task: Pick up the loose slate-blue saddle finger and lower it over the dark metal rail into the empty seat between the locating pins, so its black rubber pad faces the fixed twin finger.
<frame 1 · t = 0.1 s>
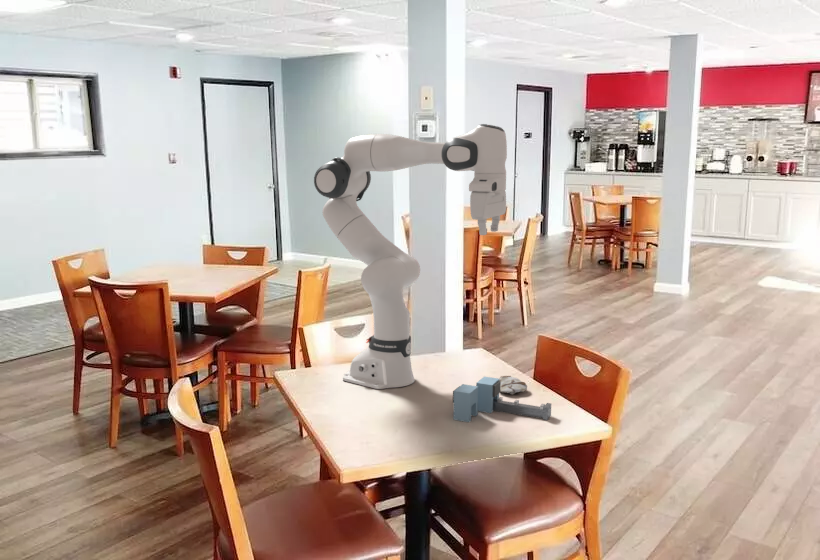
hand: (488, 233, 212), 48 cm above the table, fingers open, 8 cm apart
rail: (507, 411, 207), on the table
fixed finger: (487, 408, 210), resting in rail
finger: (465, 417, 203), on the table
stone: (510, 391, 225), on the table
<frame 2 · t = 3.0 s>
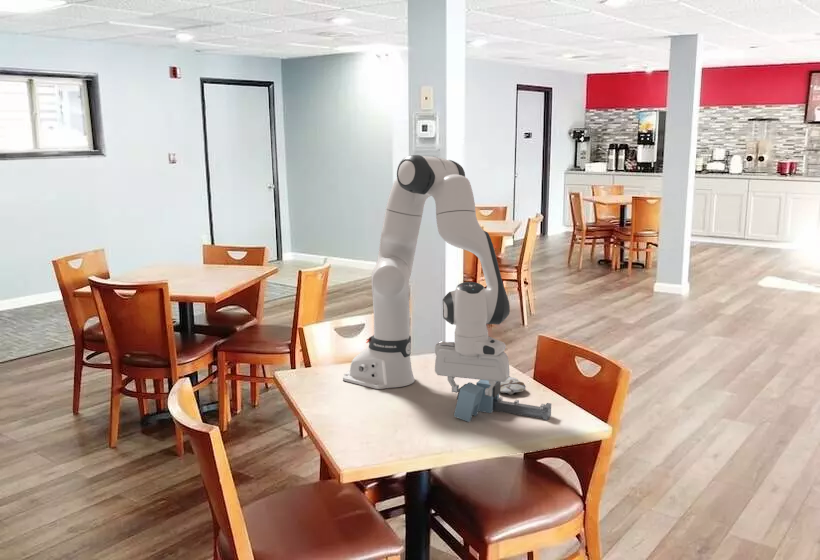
hand: (471, 393, 202), 6 cm above the table, fingers open, 8 cm apart
finger: (465, 415, 203), on the table, tilted 12°
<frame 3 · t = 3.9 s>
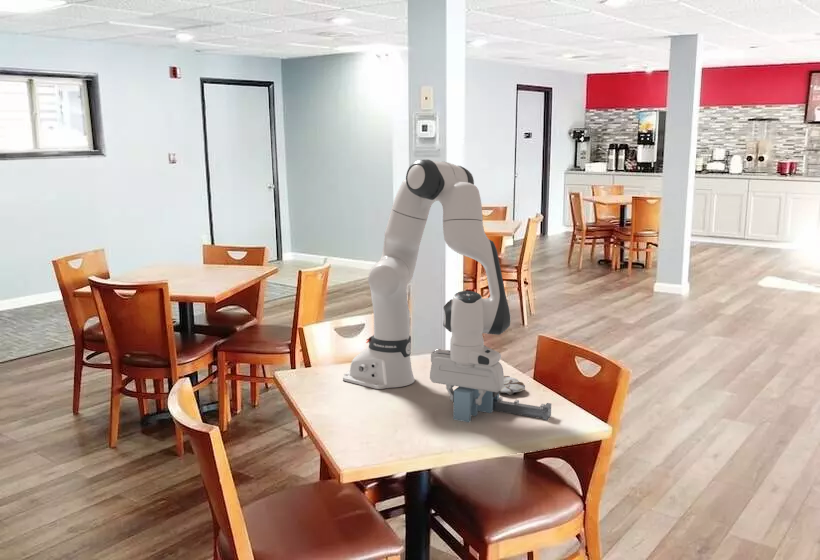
hand: (465, 402, 202), 4 cm above the table, fingers open, 6 cm apart
finger: (465, 417, 203), on the table, touching gripper
everything else where it was.
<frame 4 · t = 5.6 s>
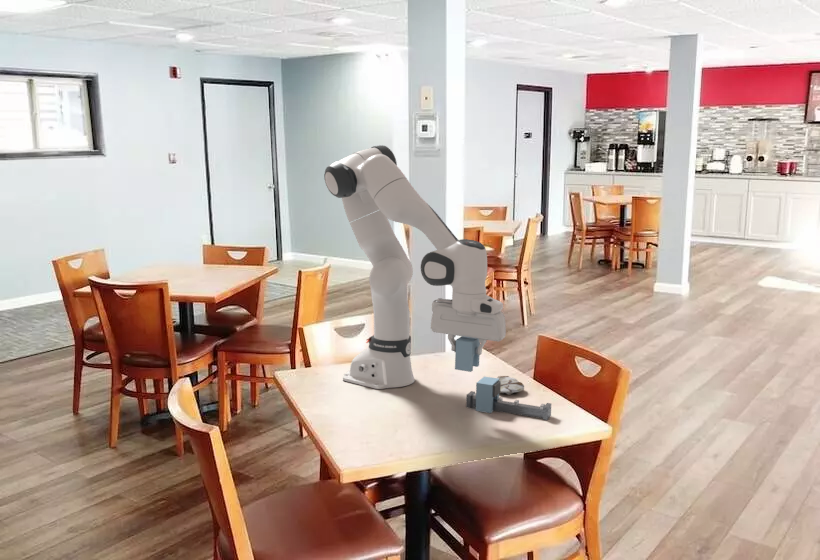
hand: (466, 352, 200), 18 cm above the table, fingers closed on finger, 5 cm apart
finger: (467, 367, 201), point 14 cm above the table, touching gripper
everything else where it was.
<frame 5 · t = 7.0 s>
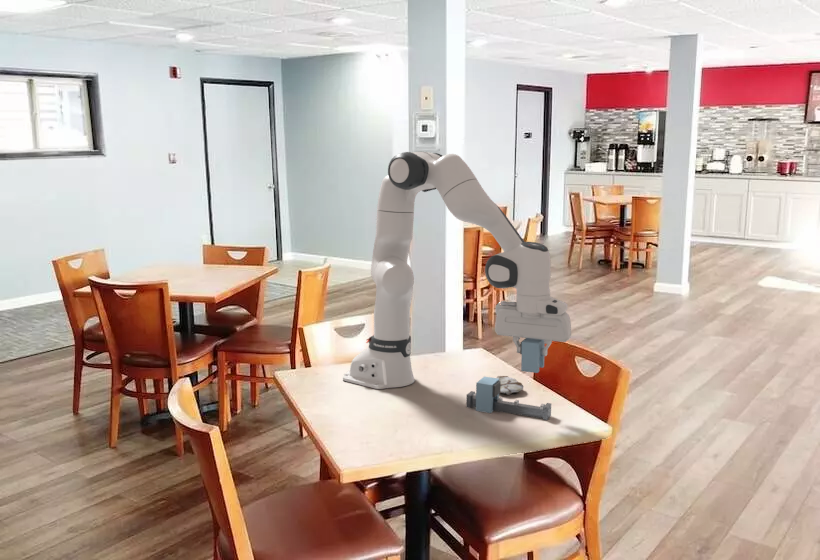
hand: (531, 354, 202), 17 cm above the table, fingers closed on finger, 5 cm apart
finger: (532, 368, 202), point 13 cm above the table, touching gripper
when the fingers open (5 cm above the table, at t = 9.2 s): finger drops 1 cm, resting in rail.
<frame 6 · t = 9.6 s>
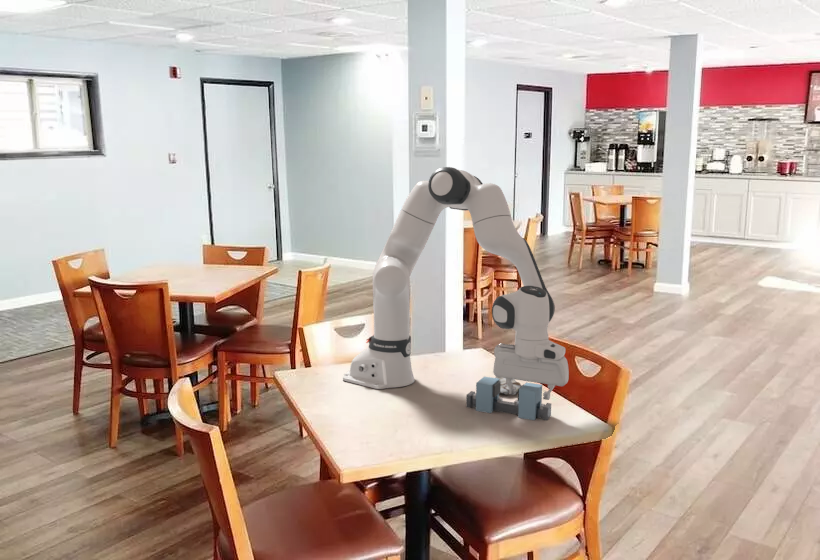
hand: (529, 396, 204), 5 cm above the table, fingers open, 8 cm apart
finger: (529, 415, 205), resting in rail
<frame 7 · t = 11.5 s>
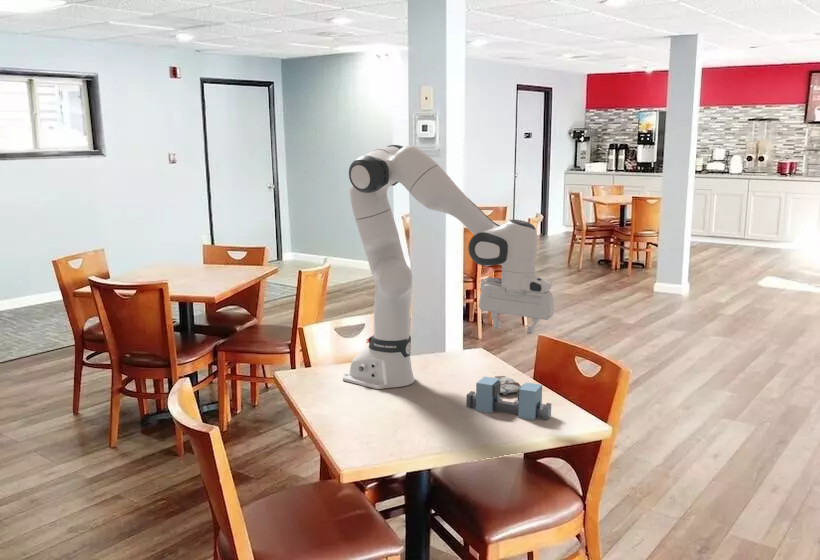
hand: (513, 330, 204), 23 cm above the table, fingers open, 8 cm apart
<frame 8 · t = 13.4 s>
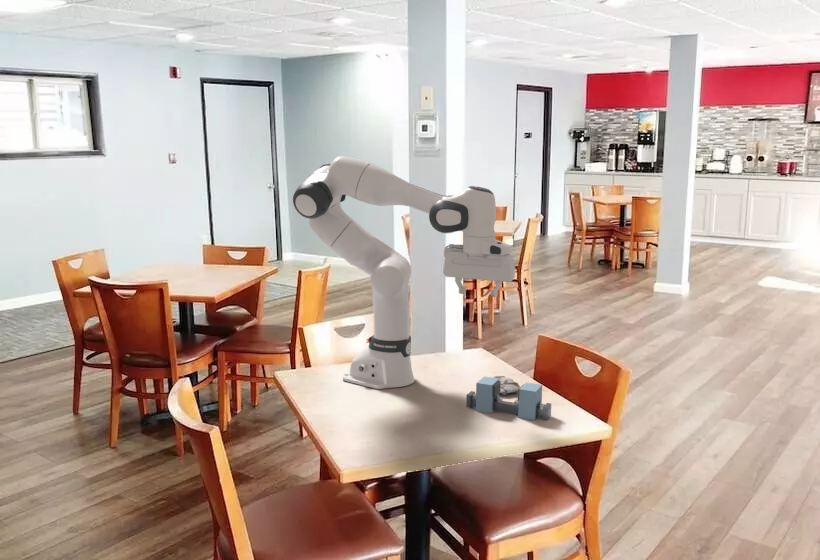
hand: (478, 294, 210), 31 cm above the table, fingers open, 8 cm apart
at the end: finger 0.2 cm from the target spot on the rail, point 0.0 cm above the rail's base; finger tilted 0°; the gripper is holding nothing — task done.
